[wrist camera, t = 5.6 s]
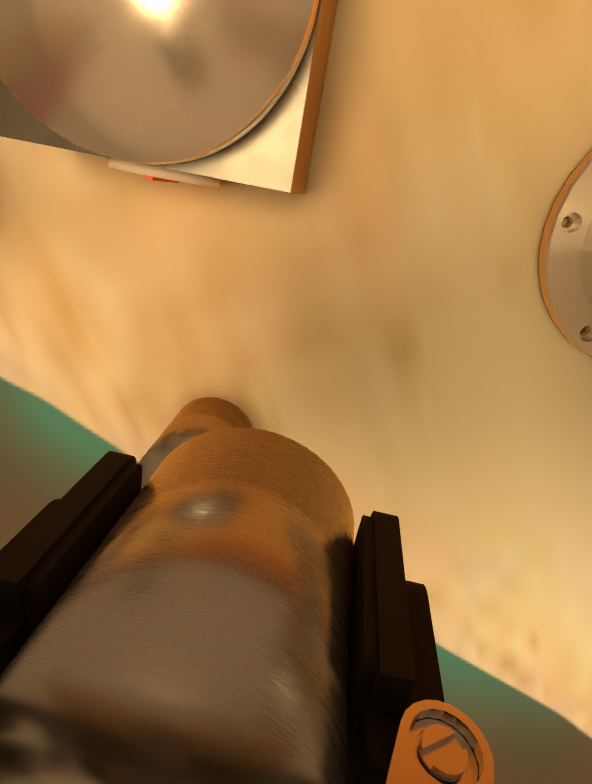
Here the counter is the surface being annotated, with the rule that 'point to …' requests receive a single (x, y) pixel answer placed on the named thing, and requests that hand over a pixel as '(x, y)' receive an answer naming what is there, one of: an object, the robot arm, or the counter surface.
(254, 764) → the disc
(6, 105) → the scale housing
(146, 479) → the cylinder
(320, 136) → the counter surface
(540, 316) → the counter surface
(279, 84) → the pan
